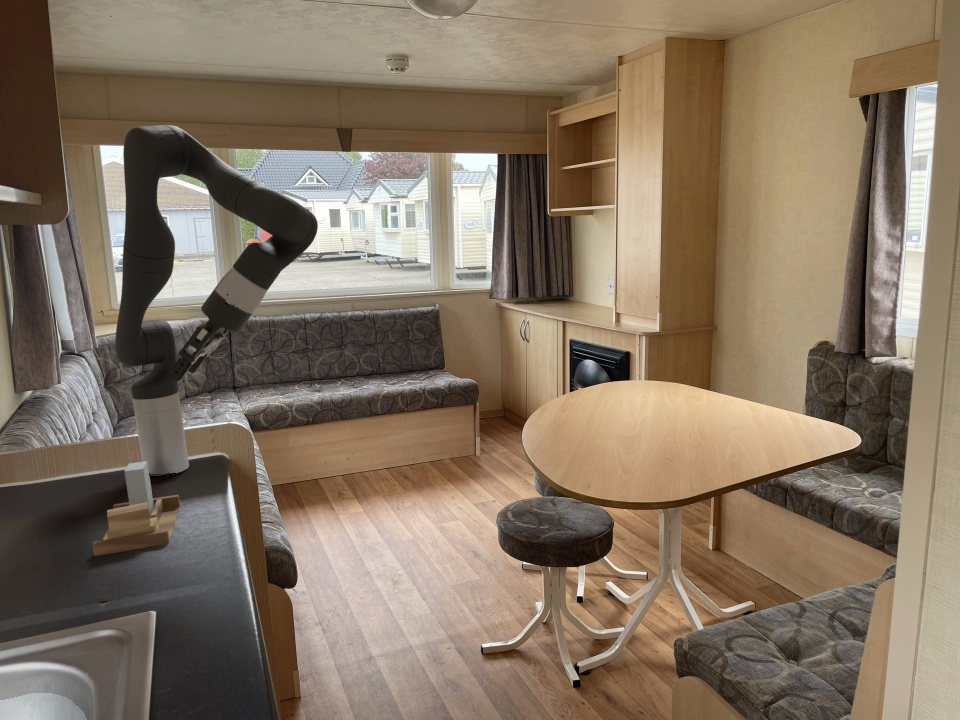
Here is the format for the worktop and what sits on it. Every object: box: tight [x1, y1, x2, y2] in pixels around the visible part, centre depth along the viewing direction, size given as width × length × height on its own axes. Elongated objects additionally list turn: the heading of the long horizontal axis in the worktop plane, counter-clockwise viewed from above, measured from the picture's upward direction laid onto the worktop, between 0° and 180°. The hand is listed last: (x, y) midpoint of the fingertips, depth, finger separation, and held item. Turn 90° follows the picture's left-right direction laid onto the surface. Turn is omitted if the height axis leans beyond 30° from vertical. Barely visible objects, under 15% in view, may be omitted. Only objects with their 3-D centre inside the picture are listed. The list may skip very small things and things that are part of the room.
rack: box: [91, 494, 181, 557], centre depth 123 cm, size 18×11×3 cm, turn 17°
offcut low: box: [106, 517, 159, 539], centre depth 117 cm, size 4×7×3 cm, turn 107°
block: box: [124, 461, 154, 518], centre depth 126 cm, size 4×3×10 cm, turn 17°
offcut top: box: [106, 502, 151, 533], centre depth 116 cm, size 3×6×3 cm, turn 117°
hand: (181, 374), depth 124 cm, fingers open, 8 cm apart
